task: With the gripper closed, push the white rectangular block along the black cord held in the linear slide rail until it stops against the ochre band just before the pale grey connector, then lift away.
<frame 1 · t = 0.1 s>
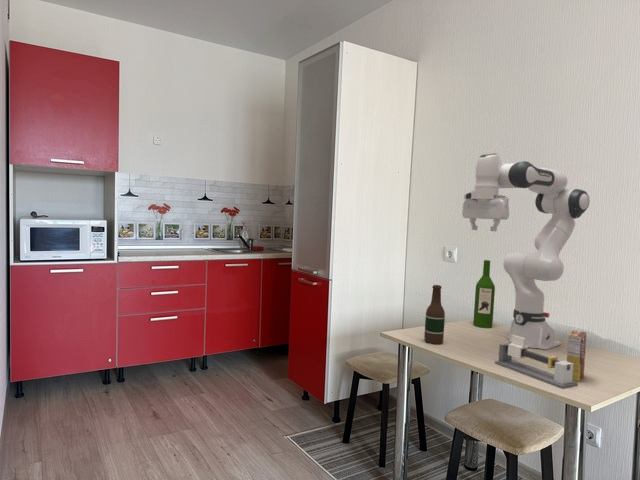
hand: (483, 230, 179), 48 cm above the table, fingers open, 8 cm apart
white rectangular block: (518, 346, 163), point 8 cm above the table, slide at 0.0 cm
linear slide rail: (533, 373, 158), on the table
wine bottle: (482, 326, 226), on the table
beer bottle: (433, 342, 192), on the table
candy box: (574, 378, 156), on the table
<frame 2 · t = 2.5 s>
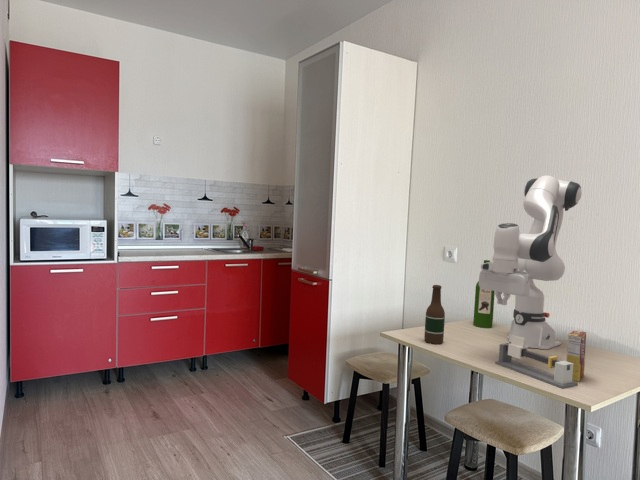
hand: (501, 304, 170), 21 cm above the table, fingers closed
nothing on the table moved.
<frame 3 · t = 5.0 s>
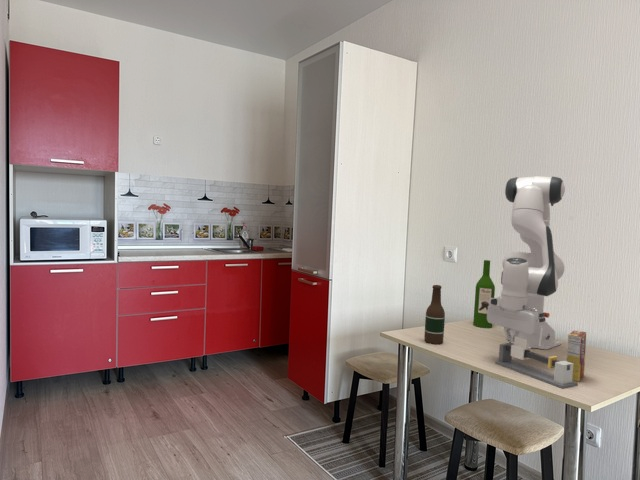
hand: (510, 341, 166), 9 cm above the table, fingers closed
white rectangular block: (520, 347, 162), point 7 cm above the table, slide at 1.2 cm, touching gripper
everything else where it was.
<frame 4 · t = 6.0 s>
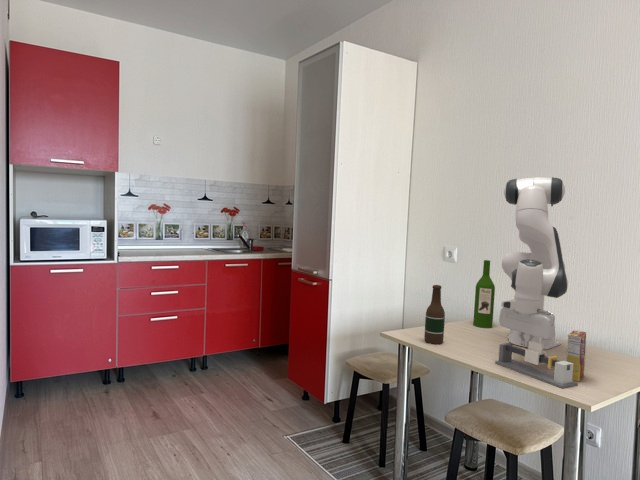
hand: (524, 345, 161), 9 cm above the table, fingers closed
white rectangular block: (535, 352, 157), point 8 cm above the table, slide at 7.0 cm, touching gripper
everything else where it was.
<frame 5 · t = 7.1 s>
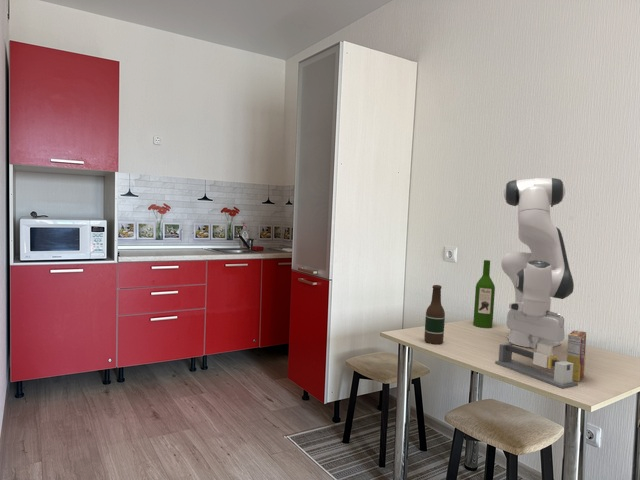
hand: (532, 348, 158), 9 cm above the table, fingers closed
white rectangular block: (544, 354, 154), point 8 cm above the table, slide at 10.3 cm, touching gripper
everything else where it was.
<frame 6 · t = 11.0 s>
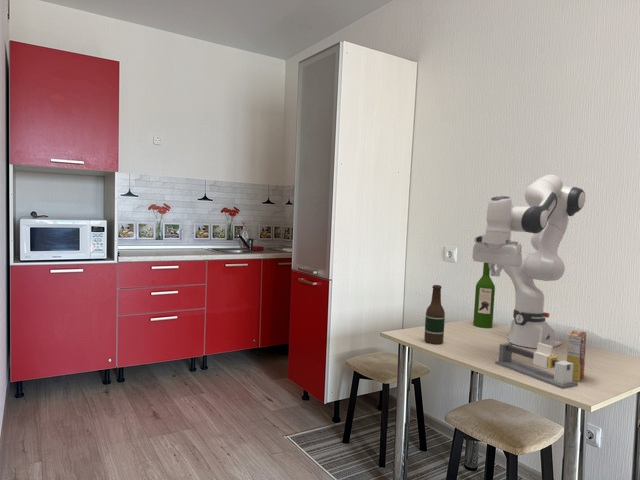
hand: (495, 276, 173), 31 cm above the table, fingers closed
white rectangular block: (544, 354, 154), point 8 cm above the table, slide at 10.3 cm
everything else where it was.
at the end: white rectangular block slide at 10.3 cm; the gripper is holding nothing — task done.
